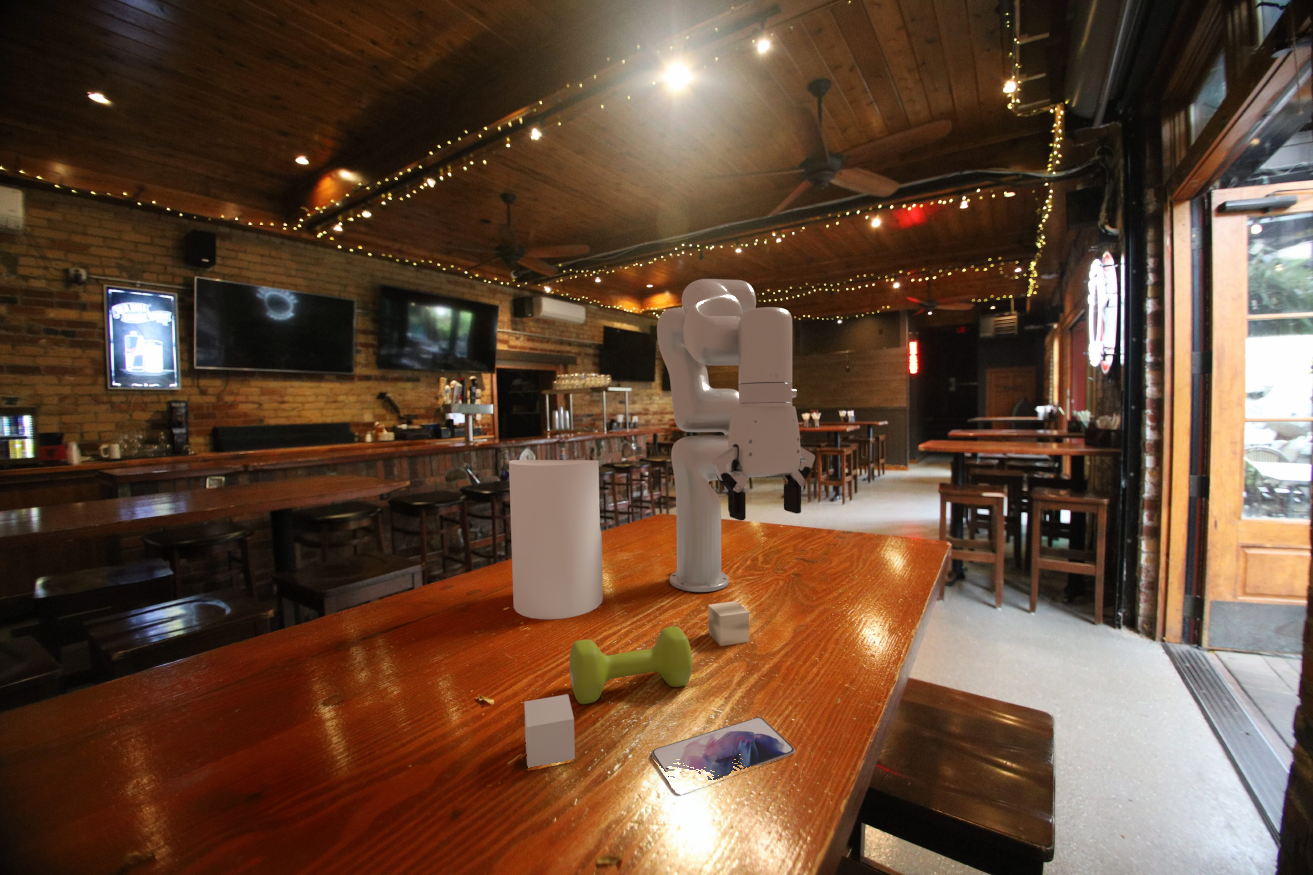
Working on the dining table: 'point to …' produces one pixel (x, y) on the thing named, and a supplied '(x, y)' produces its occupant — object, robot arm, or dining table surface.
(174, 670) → the dining table surface
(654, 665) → the dumbbell
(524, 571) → the cylinder
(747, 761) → the smartphone
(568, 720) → the grey block
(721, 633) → the maple block
